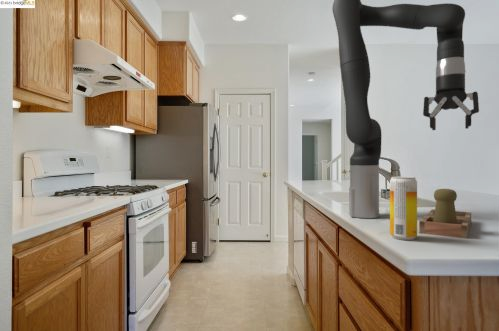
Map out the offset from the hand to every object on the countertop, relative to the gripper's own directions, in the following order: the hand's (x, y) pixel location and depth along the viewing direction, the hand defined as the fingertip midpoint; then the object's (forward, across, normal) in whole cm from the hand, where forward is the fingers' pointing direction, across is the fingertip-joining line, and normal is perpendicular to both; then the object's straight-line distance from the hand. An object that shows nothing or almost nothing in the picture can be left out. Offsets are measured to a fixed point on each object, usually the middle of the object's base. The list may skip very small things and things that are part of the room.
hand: (450, 129), depth 99 cm
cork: (+28, 0, -16) cm, 32 cm away
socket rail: (+28, 0, -10) cm, 30 cm away
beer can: (+28, -8, -29) cm, 41 cm away
